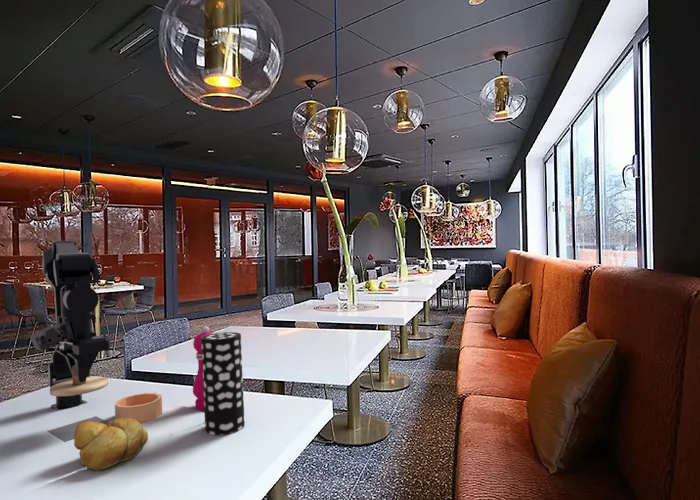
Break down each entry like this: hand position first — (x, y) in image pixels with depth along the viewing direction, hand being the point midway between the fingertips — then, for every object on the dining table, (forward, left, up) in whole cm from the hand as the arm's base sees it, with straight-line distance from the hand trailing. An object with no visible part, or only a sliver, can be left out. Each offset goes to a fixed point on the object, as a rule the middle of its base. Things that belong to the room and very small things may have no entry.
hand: (79, 380), depth 99 cm
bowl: (+4, +11, -11) cm, 16 cm away
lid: (0, 0, -2) cm, 2 cm away
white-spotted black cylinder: (+26, +19, -11) cm, 34 cm away
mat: (0, 0, -11) cm, 11 cm away
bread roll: (+21, -1, -11) cm, 24 cm away
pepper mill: (+11, +25, -11) cm, 30 cm away
